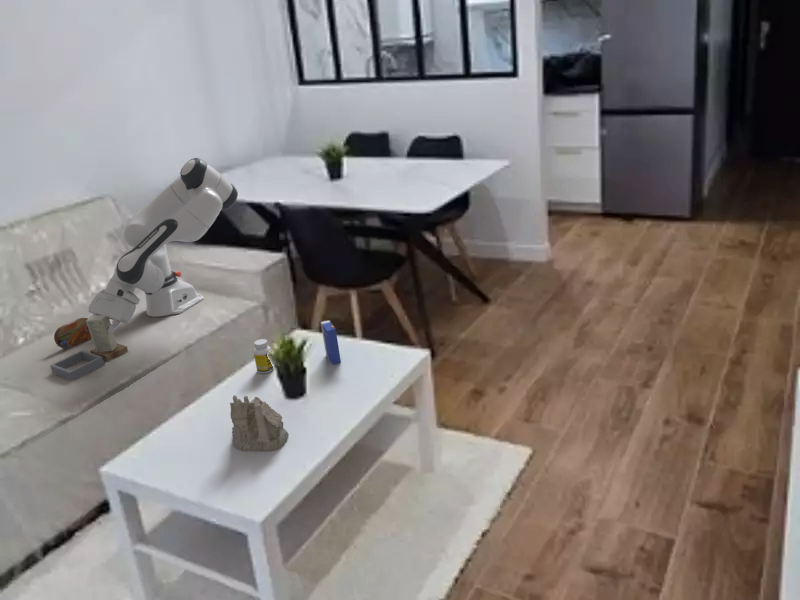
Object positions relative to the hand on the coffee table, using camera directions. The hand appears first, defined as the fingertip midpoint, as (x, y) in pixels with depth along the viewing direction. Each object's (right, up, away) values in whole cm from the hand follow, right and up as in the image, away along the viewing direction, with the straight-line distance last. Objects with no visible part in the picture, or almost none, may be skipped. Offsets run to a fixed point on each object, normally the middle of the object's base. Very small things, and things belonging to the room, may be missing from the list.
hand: (101, 330), depth 252 cm
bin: (-6, -13, -4) cm, 15 cm away
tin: (-15, -6, +16) cm, 22 cm away
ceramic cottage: (+65, -26, -54) cm, 89 cm away
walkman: (+81, -8, -18) cm, 83 cm away
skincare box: (+1, -7, +3) cm, 8 cm away
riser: (+1, -8, +4) cm, 9 cm away
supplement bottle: (+60, -12, -20) cm, 64 cm away
